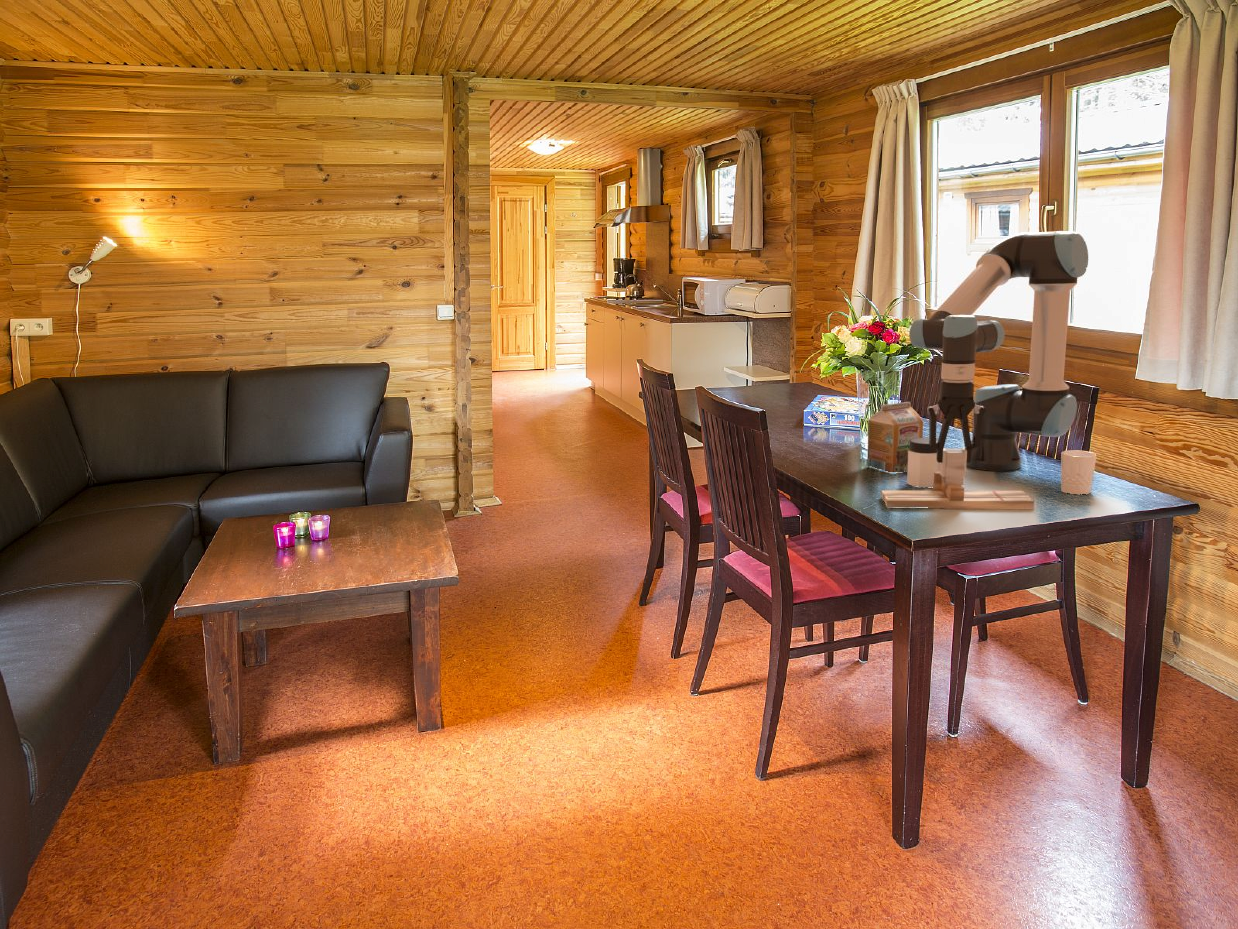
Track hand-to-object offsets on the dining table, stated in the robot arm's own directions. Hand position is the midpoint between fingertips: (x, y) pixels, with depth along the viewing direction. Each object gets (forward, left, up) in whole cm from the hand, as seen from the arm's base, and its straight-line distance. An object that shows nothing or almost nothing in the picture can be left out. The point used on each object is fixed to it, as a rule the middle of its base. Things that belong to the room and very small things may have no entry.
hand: (952, 475), depth 227 cm
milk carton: (-38, -8, -7) cm, 40 cm away
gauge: (0, 0, -7) cm, 7 cm away
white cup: (-12, +33, -7) cm, 36 cm away
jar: (-19, -3, -7) cm, 21 cm away
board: (0, +1, -7) cm, 7 cm away
